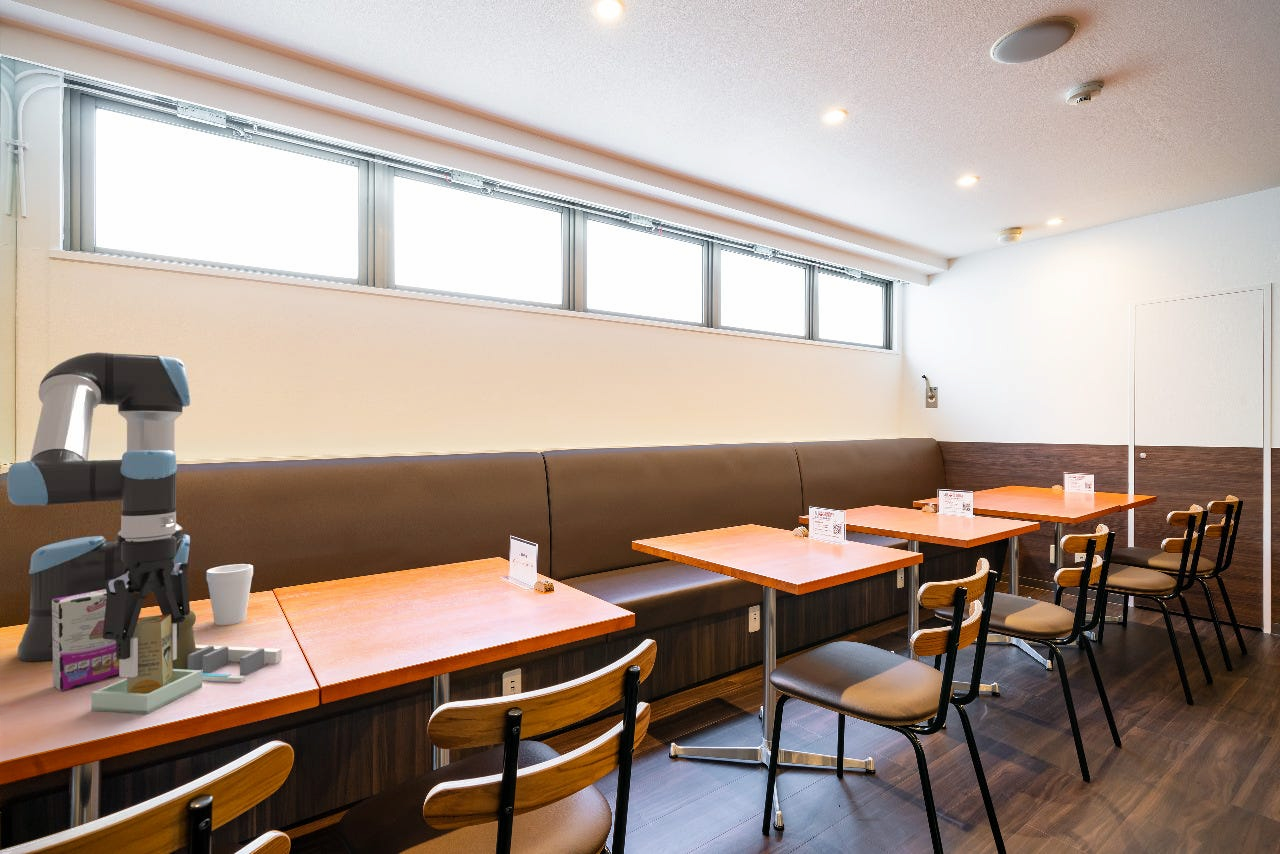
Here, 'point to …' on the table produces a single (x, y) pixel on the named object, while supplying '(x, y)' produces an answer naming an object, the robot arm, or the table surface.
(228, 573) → the foam cup
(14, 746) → the table surface
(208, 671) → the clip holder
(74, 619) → the candy bar box
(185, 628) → the cork
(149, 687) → the shoe polish box
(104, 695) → the tray
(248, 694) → the table surface
